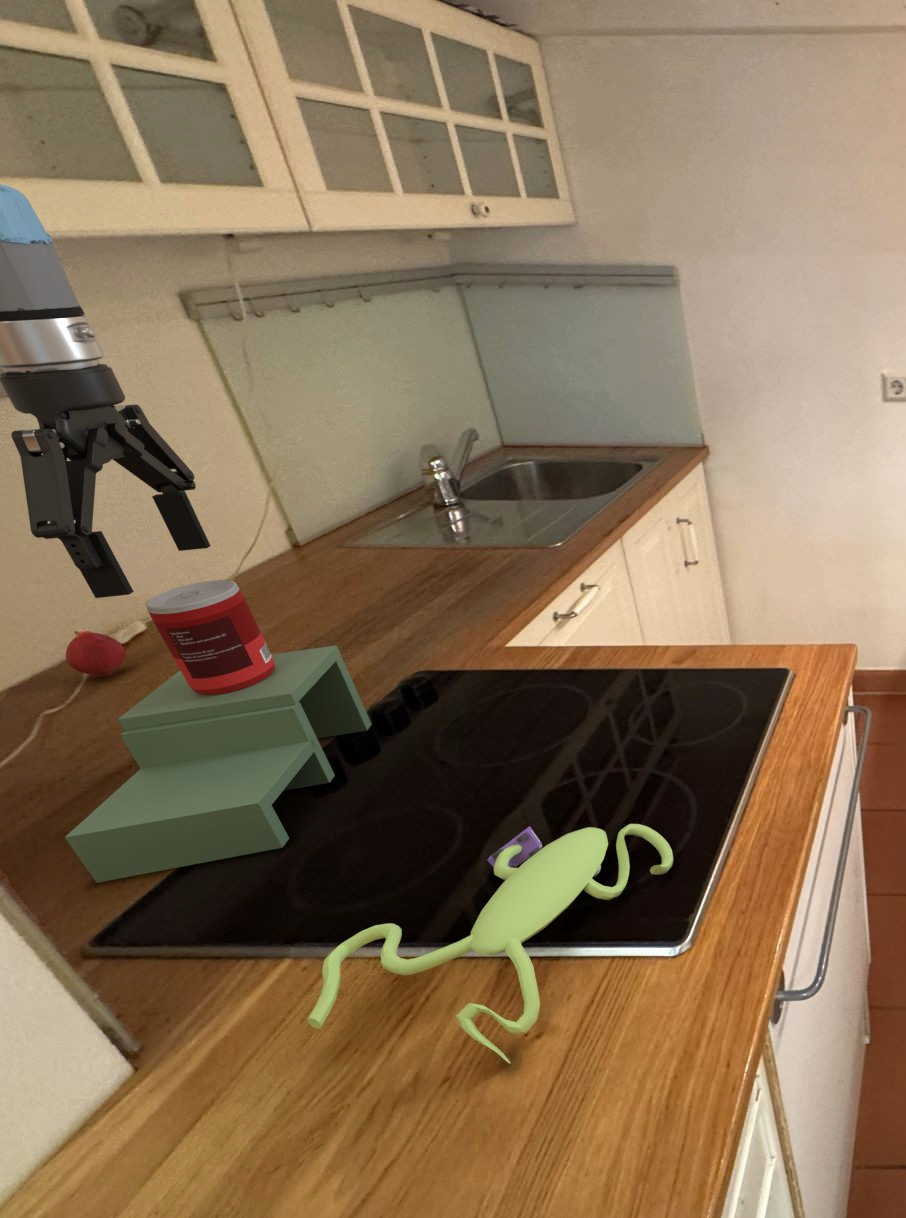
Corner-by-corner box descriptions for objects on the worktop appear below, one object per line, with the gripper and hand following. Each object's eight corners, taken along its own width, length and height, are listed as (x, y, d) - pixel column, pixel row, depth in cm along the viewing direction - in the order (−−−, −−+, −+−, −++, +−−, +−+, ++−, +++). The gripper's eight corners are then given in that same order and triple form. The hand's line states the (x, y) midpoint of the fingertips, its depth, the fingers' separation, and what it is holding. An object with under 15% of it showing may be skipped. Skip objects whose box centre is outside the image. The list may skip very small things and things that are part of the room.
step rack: (96, 883, 77) (29, 787, 72) (229, 747, 98) (184, 666, 92) (282, 847, 81) (231, 754, 75) (372, 724, 101) (337, 645, 96)
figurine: (294, 1043, 60) (264, 995, 58) (548, 819, 83) (533, 777, 81) (478, 1107, 55) (452, 1057, 53) (694, 850, 78) (683, 807, 76)
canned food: (250, 658, 94) (209, 576, 89) (294, 667, 91) (254, 583, 86) (175, 690, 87) (126, 603, 82) (220, 701, 85) (172, 612, 80)
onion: (125, 663, 120) (98, 617, 116) (142, 670, 117) (115, 624, 114) (74, 681, 115) (44, 634, 111) (90, 689, 113) (61, 641, 109)
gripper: (-4, 383, 64) (122, 613, 73) (179, 348, 85) (258, 529, 94) (-121, 389, 62) (23, 624, 71) (96, 352, 83) (185, 536, 93)
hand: (158, 570), depth 83 cm, fingers open, 13 cm apart
